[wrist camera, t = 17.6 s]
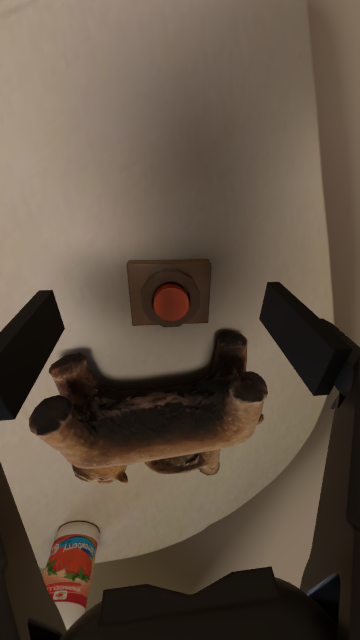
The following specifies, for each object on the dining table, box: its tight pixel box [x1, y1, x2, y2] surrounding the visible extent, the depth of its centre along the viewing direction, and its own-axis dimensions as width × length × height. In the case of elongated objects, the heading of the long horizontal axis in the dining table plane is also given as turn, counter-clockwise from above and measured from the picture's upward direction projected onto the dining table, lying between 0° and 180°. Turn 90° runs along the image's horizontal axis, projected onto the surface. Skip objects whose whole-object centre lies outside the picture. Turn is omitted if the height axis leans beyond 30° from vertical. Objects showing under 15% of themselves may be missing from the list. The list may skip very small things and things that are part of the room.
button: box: [154, 284, 189, 321], centre depth 27 cm, size 4×4×2 cm
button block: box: [127, 259, 212, 327], centre depth 29 cm, size 10×8×4 cm
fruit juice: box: [43, 522, 99, 630], centre depth 42 cm, size 9×9×28 cm
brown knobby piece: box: [29, 331, 268, 484], centre depth 35 cm, size 13×31×25 cm
